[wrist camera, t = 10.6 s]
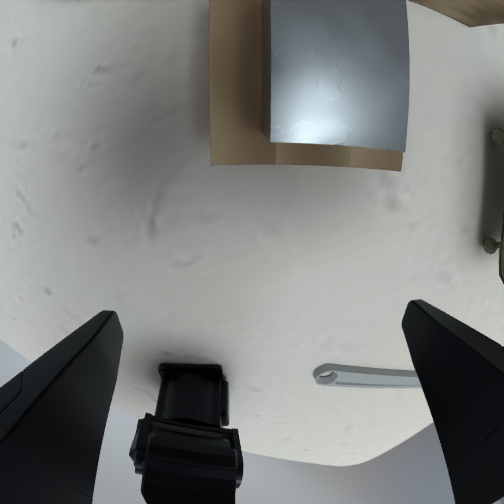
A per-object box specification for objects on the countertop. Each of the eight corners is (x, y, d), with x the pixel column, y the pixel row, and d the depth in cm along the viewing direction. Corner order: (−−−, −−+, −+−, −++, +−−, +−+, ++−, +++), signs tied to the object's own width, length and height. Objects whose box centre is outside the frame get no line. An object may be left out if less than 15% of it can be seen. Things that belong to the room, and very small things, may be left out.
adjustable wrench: (307, 373, 30) (310, 386, 28) (339, 333, 27) (344, 346, 25) (438, 388, 35) (443, 396, 33) (465, 360, 32) (471, 368, 31)
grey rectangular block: (256, 126, 16) (270, 142, 9) (256, 22, 13) (270, -33, 6) (339, 130, 17) (404, 152, 10) (341, 31, 13) (405, -6, 6)
